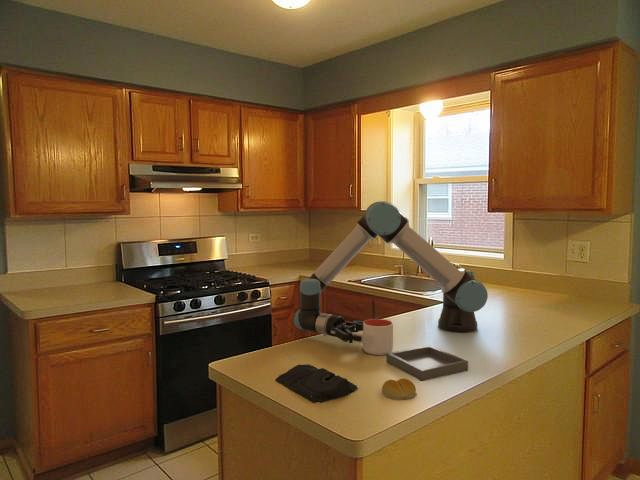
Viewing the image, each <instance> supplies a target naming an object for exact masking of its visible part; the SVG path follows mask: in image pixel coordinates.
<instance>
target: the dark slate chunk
mask: <svg viewBox="0 0 640 480" xmlns="http://www.w3.org/2000/svg"><path fill="white" fill-rule="evenodd" d="M274 381H275V382H277V383H278V384H280V385H282V386H283V387H285V388H287V390H289V391H291V392H293V393H294V394H295V395H296V394H297V395H299V397H302V398H304V399H306V400H307V401H308V402H311V403H312V404H316V403H320V404H324V403H325V402H329V401H331V400H332V401H333V400H338V399H340V398H344V397H346V396H348V395H350V394H351V393H354V391H356V390H359V389H358V386H357V385H356V384H354V383H352V382H351V381H349V380H348V378H345V377H342V376H340V375H336V374H335V373H333V372H331V371H329V370H327V369H326V368H324V367H321V368H317V367H316V366H314V365H312V364H308V363H306V364H297V365H295V366H292V368H290V369H288V370H287V371H286V372H283V373H281V374H279V376H277V377H276V378H275V379H274Z"/></svg>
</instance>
